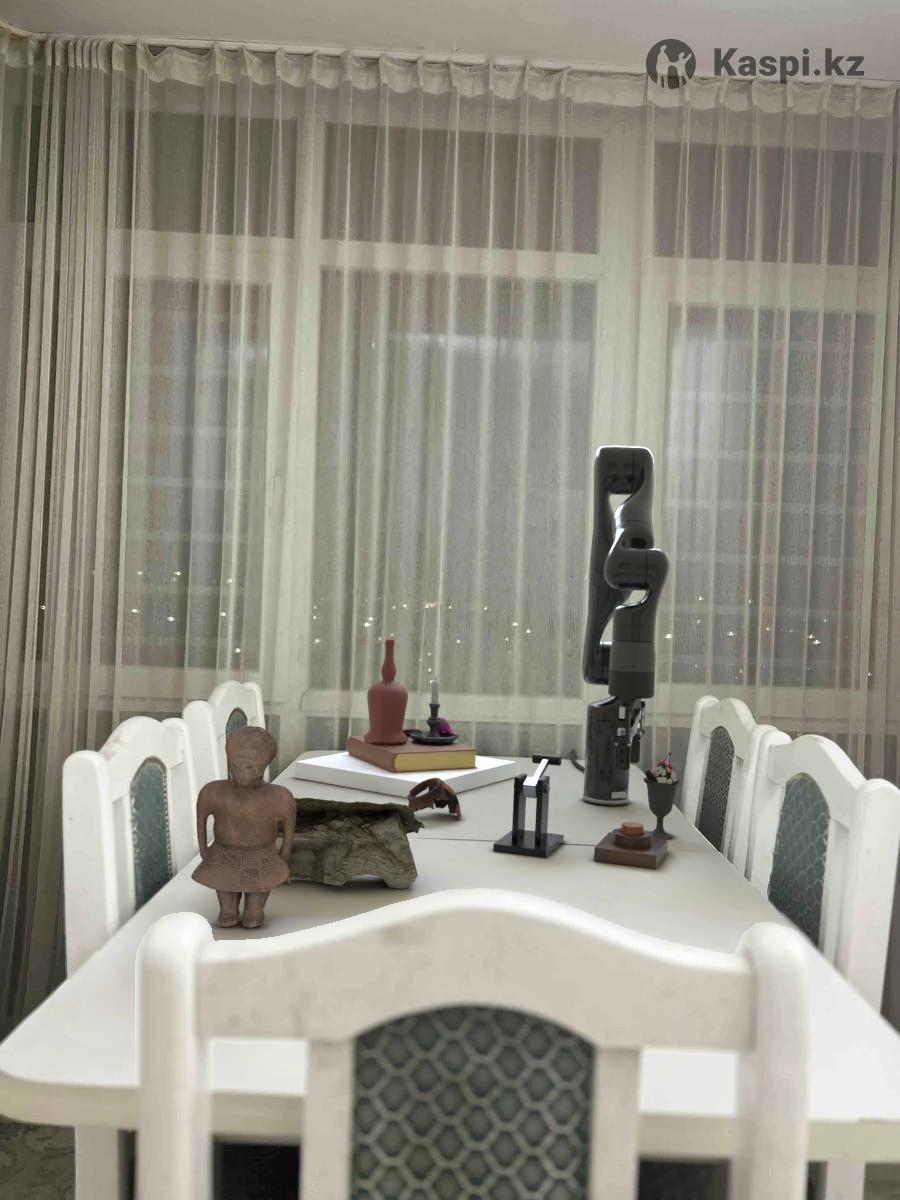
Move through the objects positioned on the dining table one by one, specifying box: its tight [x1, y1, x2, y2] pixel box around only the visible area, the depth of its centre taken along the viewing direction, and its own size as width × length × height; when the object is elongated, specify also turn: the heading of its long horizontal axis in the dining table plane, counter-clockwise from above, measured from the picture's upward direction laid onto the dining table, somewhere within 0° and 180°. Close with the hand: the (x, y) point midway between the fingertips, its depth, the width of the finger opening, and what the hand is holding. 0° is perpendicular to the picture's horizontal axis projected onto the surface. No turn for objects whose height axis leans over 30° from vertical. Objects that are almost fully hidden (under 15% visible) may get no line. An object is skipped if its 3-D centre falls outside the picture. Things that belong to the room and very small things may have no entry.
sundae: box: [642, 752, 682, 840], centre depth 189 cm, size 7×7×15 cm
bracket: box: [492, 773, 565, 859], centre depth 178 cm, size 12×9×12 cm
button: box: [621, 821, 645, 836], centre depth 174 cm, size 4×4×2 cm
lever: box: [523, 753, 563, 799], centre depth 182 cm, size 12×5×2 cm, turn 160°
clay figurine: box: [190, 725, 296, 928], centre depth 133 cm, size 13×10×25 cm
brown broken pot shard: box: [406, 778, 462, 821], centre depth 198 cm, size 12×10×8 cm
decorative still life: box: [294, 638, 517, 798], centre depth 237 cm, size 35×40×31 cm
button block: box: [593, 827, 669, 870], centre depth 174 cm, size 12×10×4 cm
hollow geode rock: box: [276, 797, 426, 889], centre depth 151 cm, size 28×13×15 cm
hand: (627, 765), depth 174 cm, fingers open, 8 cm apart
